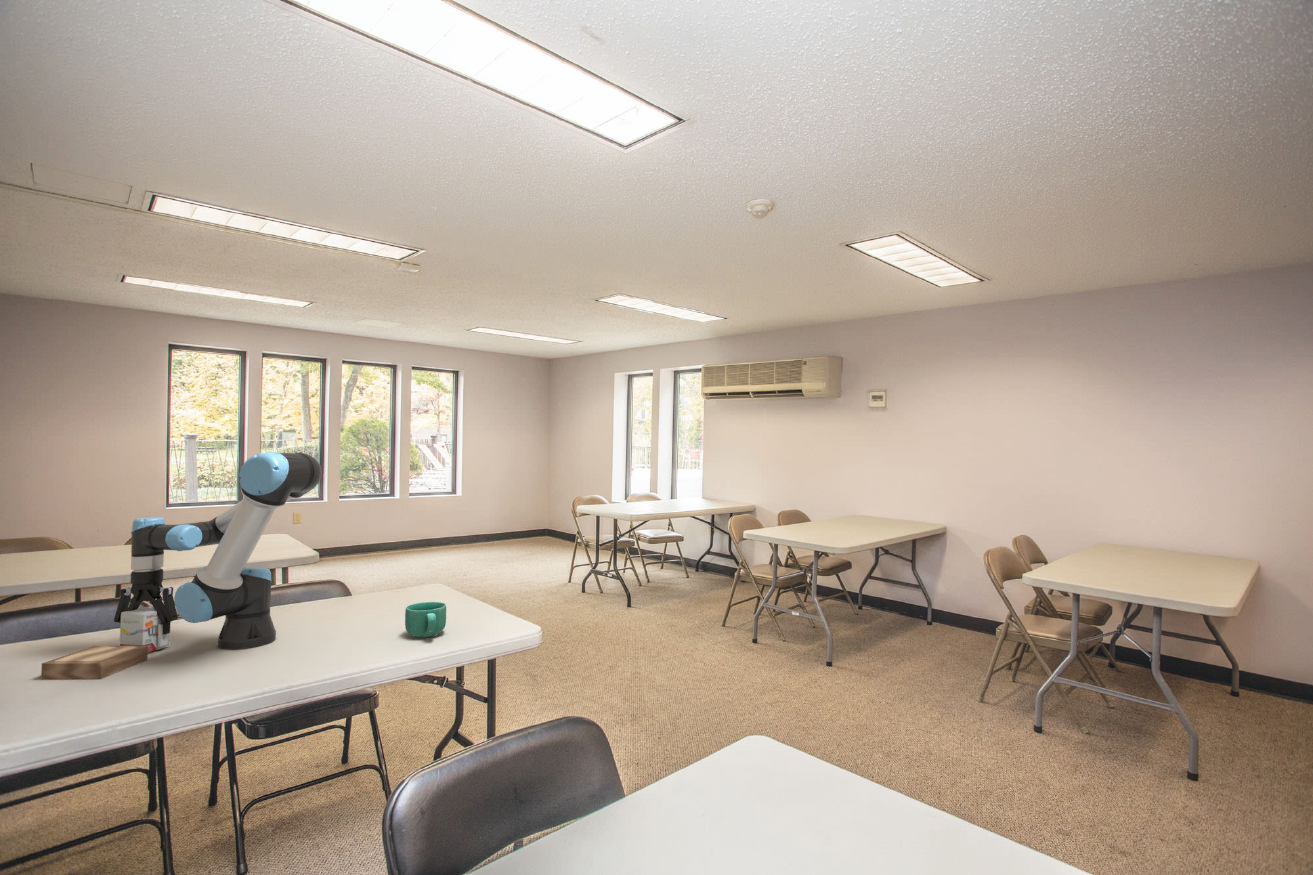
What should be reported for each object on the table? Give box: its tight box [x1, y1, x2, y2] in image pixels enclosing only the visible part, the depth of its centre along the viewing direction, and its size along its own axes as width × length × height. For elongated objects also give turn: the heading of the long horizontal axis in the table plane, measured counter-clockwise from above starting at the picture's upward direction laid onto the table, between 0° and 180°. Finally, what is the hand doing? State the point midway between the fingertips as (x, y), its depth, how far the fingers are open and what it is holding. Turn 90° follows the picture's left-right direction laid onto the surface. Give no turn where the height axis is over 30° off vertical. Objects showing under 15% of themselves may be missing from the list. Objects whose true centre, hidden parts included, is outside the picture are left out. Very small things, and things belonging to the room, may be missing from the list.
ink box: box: [119, 605, 171, 654], centre depth 182 cm, size 9×9×12 cm
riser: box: [40, 645, 148, 680], centre depth 166 cm, size 15×15×4 cm
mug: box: [404, 601, 447, 639], centre depth 198 cm, size 17×13×10 cm
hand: (145, 645), depth 182 cm, fingers closed on ink box, 9 cm apart
